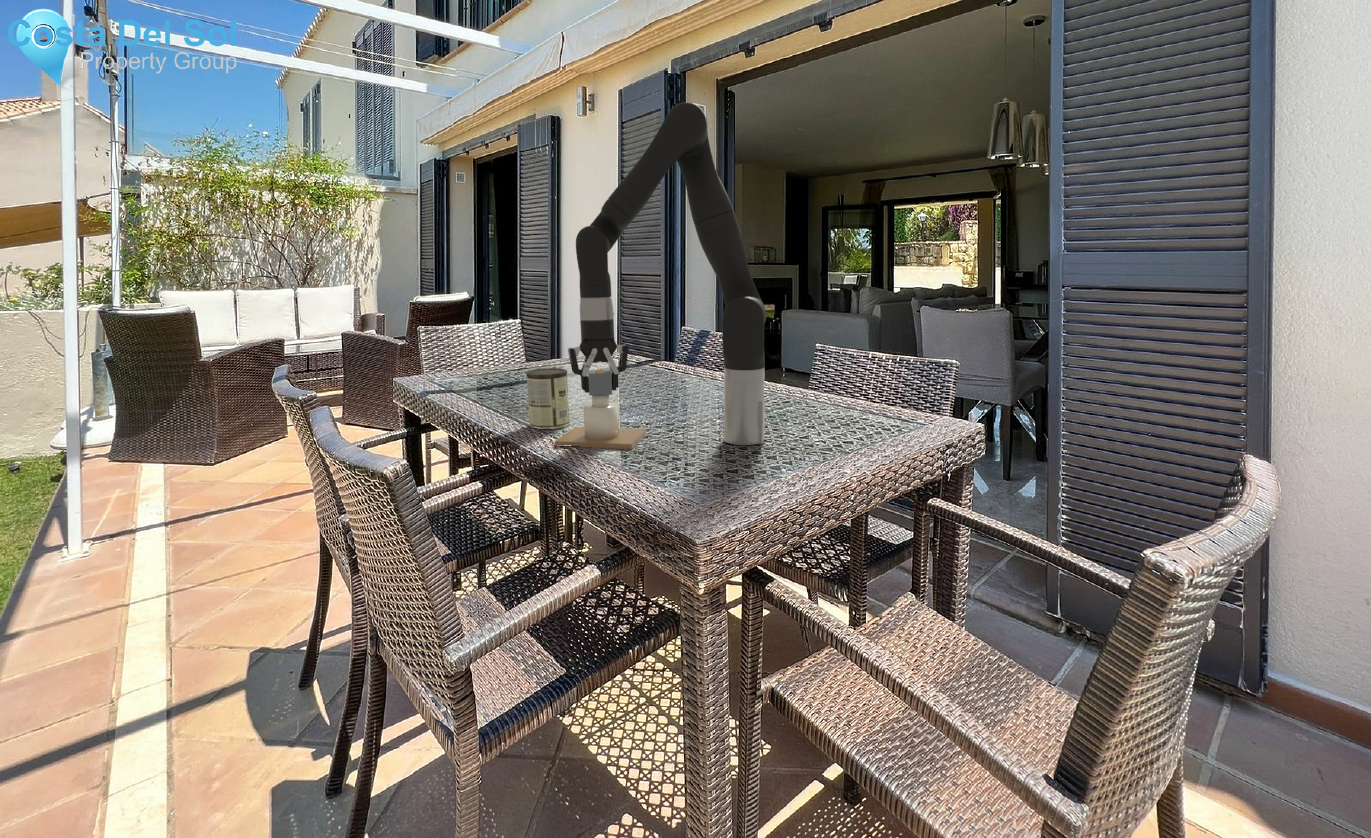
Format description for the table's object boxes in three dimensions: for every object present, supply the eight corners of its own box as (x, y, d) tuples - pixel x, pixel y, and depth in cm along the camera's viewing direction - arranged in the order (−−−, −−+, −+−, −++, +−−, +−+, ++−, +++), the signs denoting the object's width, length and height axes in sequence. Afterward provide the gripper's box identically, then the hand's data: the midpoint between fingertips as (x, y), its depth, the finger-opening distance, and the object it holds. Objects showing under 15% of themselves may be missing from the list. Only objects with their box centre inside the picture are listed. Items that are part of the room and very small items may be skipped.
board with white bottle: (646, 434, 172) (645, 389, 169) (631, 449, 158) (630, 401, 156) (575, 431, 175) (573, 388, 172) (555, 446, 161) (552, 399, 159)
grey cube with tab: (588, 391, 166) (587, 367, 165) (610, 390, 167) (610, 367, 166) (589, 395, 161) (588, 371, 160) (612, 394, 162) (611, 370, 161)
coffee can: (536, 420, 188) (533, 368, 185) (574, 421, 187) (571, 368, 184) (523, 429, 178) (520, 374, 175) (563, 430, 177) (561, 374, 174)
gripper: (623, 315, 166) (626, 386, 169) (562, 318, 161) (566, 391, 165) (631, 317, 159) (634, 391, 162) (568, 320, 154) (572, 396, 158)
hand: (600, 390), depth 163 cm, fingers open, 5 cm apart
